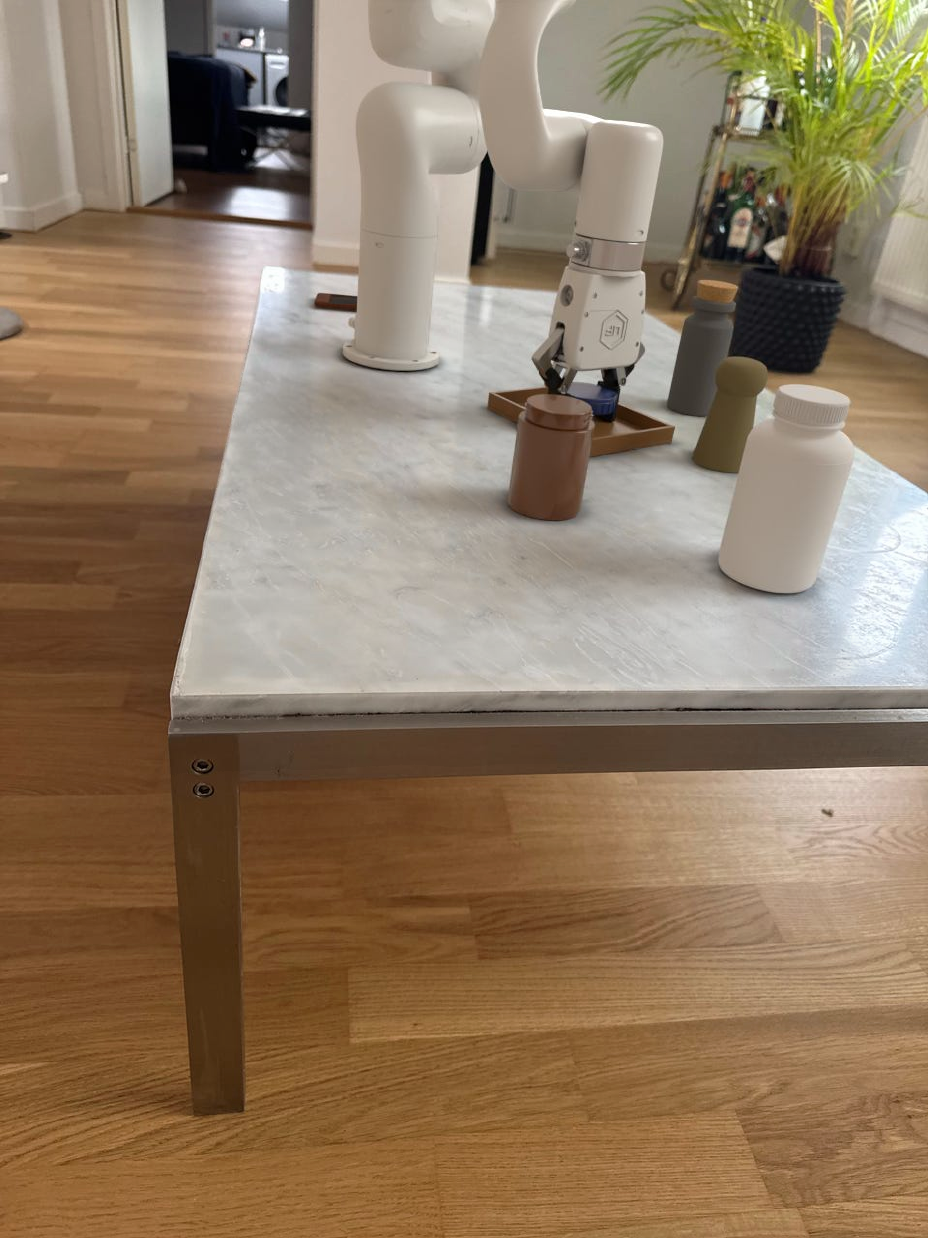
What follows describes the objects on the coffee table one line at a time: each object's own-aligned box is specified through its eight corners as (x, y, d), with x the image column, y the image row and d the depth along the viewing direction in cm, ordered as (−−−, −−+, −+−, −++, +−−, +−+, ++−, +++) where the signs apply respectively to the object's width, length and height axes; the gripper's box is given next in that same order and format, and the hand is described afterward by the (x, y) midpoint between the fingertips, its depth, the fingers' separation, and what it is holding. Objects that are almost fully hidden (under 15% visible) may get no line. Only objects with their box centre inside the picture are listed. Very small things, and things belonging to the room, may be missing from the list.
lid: (540, 398, 106) (543, 383, 105) (585, 394, 110) (588, 379, 109) (582, 417, 101) (585, 402, 100) (627, 411, 105) (630, 396, 104)
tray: (487, 408, 109) (488, 392, 108) (570, 398, 116) (572, 382, 115) (586, 457, 98) (589, 440, 97) (671, 442, 105) (675, 426, 104)
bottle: (714, 419, 115) (744, 291, 107) (666, 411, 115) (693, 283, 108) (713, 406, 120) (742, 283, 112) (666, 398, 120) (692, 276, 113)
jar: (497, 509, 83) (511, 405, 79) (520, 486, 89) (533, 387, 84) (569, 526, 82) (587, 421, 77) (587, 501, 87) (605, 402, 82)
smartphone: (412, 309, 146) (314, 300, 144) (411, 316, 146) (313, 307, 145) (411, 300, 152) (317, 291, 150) (410, 306, 152) (317, 297, 151)
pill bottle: (702, 549, 80) (746, 374, 73) (792, 554, 81) (844, 382, 74) (733, 593, 73) (785, 405, 66) (830, 598, 74) (892, 413, 67)
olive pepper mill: (716, 474, 97) (743, 368, 92) (679, 454, 102) (703, 351, 96) (760, 470, 100) (788, 366, 94) (722, 450, 104) (747, 350, 99)
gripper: (568, 263, 91) (542, 441, 99) (689, 261, 100) (656, 424, 109) (519, 249, 96) (499, 420, 104) (639, 248, 105) (611, 405, 114)
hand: (579, 420), depth 107 cm, fingers closed on lid, 6 cm apart
